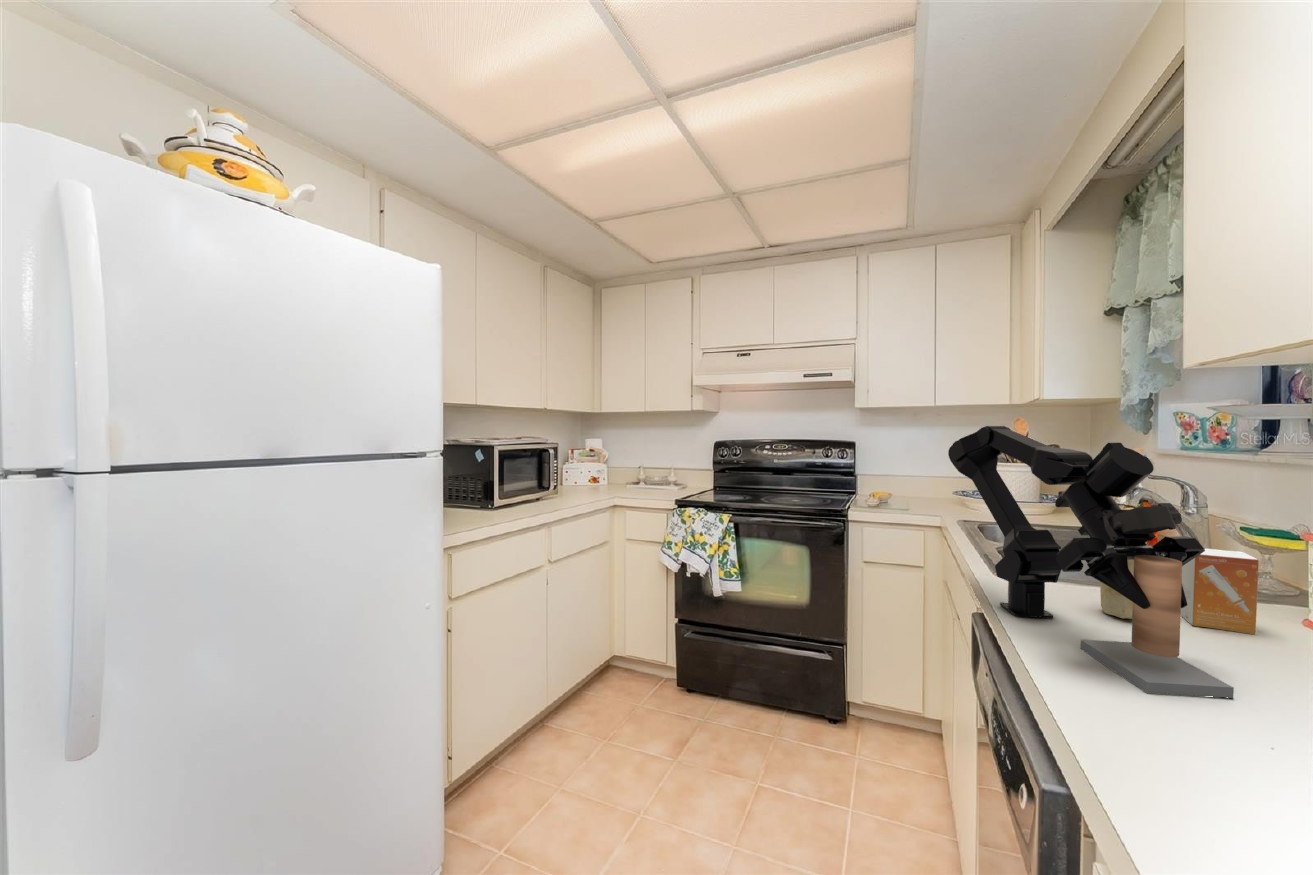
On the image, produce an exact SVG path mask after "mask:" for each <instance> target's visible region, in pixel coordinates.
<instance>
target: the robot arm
mask: <svg viewBox="0 0 1313 875" xmlns="http://www.w3.org/2000/svg"><path fill="white" fill-rule="evenodd" d="M1003 454H1004V455H1007V456H1009V457H1011V458H1012V459H1015V460H1017V461H1019V462H1021V463H1022V464H1025V465H1027V466H1028V467H1030V470H1031V474H1032V475H1034V476H1035V477H1036V478H1037V479H1039V480H1040V481H1041V482H1043V483H1044V484H1046V485H1048V486H1067V485H1069V486H1068V487H1067V488H1066V489H1065V490H1064V491H1063V490H1061V491H1058V496H1057V498H1056V500H1055V503H1054V505H1055V508H1069V509H1070V510H1071V512H1072V513H1073V515H1074V516H1075V517H1076V519H1077V520H1078V522H1079V523H1080V525H1081V526H1080V527H1079V528H1078V530H1077V531H1078V533H1079V534H1080V536H1089V537H1073V538H1072V539H1071V540H1070V541H1069V542H1067V544H1065V546H1063V547H1061V545H1059V544H1058V543H1057V541H1056V539H1055V538H1054V537H1053V534H1052V533H1051V532H1050V531H1049V530H1048V529H1037V528H1034V527H1033V526H1032V524H1030V522H1029V520H1028V518H1027V517H1026V515H1025V514H1024V512H1023V510H1022V508H1021V507H1020V506H1019V504H1018V502H1017V501H1016V499H1015V498H1014V496H1013V494H1012V492H1011V491H1010V489H1009V488H1008V486H1007V485H1006V483H1005V481H1004V480H1003V478H1002V477H1001V475H1000V473H999V472H998V470H997V469H998V462H999V457H1000V455H1003ZM948 458H949V460H950V462H951V463H952V465H953V466H954V467H955V469H956V470H957V471H958V472H959V473H960V474H962V475H963V476H965V477H966V478H968V479H970V480H972V482H973V485H974V486H975V487H976V490H977V491H978V493H979V494H980V497H981V498H982V500H983V502H984V504H985V505H986V507H987V509H988V510H989V511H990V514H991V516H992V517H993V519H994V521H995V522H996V524H997V526H998V528H999V529H1000V531H1001V533H1002V535H1003V537H1004V539H1003V546H1002V552H1003V554H1004V556H1003V557H1002V558H1001V559H1000V560H999V561H998V562H997V563H996V564H995V565H994V569H995V573H996V577H997V578H999V579H1001V580H1004V581H1006V582H1007V585H1008V586H1007V602H999V606H1001V607H1002V608H1004V610H1007V611H1008V612H1009V613H1010V614H1012V615H1013V616H1014V617H1019V618H1020V617H1022V618H1040V619H1046V618H1047V619H1054V615H1053V614H1052V613H1050V612H1049V611H1047V610H1045V609H1046V608H1045V606H1046V605H1045V604H1046V602H1045V600H1046V593H1045V592H1046V591H1045V588H1046V587H1045V586H1046V584H1045V583H1055V584H1056V583H1058V581H1059V578H1060V575H1061V573H1062V572H1064V573H1066V572H1067V573H1069V572H1070V573H1071V572H1073V573H1075V572H1081V571H1082V570H1083V568H1084V565H1085V564H1084V563H1083V561H1085V562H1086V566H1088V568H1087V569H1086V570H1085V571H1084V572H1083V573H1084V575H1085V576H1087V577H1091V578H1094V579H1095V580H1097V581H1099V583H1100V582H1102V583H1104V584H1105V585H1107V586H1109V587H1110V588H1112V589H1114V590H1115V591H1117V592H1118V593H1120V594H1121V595H1123V596H1124V597H1126V598H1127V599H1129V600H1130V601H1132V602H1134V603H1135V604H1137V605H1138V606H1140V607H1141V608H1143V609H1147V608H1149V607H1150V603H1149V601H1148V599H1147V597H1146V595H1145V594H1144V592H1143V590H1142V589H1141V587H1140V586H1139V584H1138V583H1137V581H1136V580H1135V578H1134V577H1133V575H1132V573H1131V572H1130V570H1129V569H1128V560H1134V556H1136V555H1151V556H1160V557H1166V558H1171V559H1175V560H1178V561H1181V562H1182V566H1183V565H1185V564H1186V563H1188V562H1189V561H1191V560H1192V559H1194V558H1195V557H1197V556H1198V555H1200V554H1201V553H1203V552H1204V551H1205V549H1206V548H1204V546H1202V544H1201V543H1200V542H1199V540H1198V539H1197V538H1196V537H1192V536H1183V535H1182V536H1179V535H1178V536H1164V537H1163V538H1162V539H1160V540H1159V541H1158V542H1156V543H1155V544H1153V545H1148V542H1151V541H1152V540H1153V539H1155V538H1156V537H1157V536H1156V534H1155V533H1158V532H1161V531H1162V532H1163V531H1166V530H1170V531H1171V530H1175V529H1177V526H1176V525H1179V524H1181V523H1182V521H1183V518H1182V514H1181V512H1180V511H1179V510H1178V509H1177V508H1176V507H1175V506H1174V505H1173V504H1172V503H1170V502H1159V503H1157V504H1153V505H1150V506H1139V507H1135V508H1134V507H1133V508H1134V509H1130V510H1122V508H1121V507H1120V505H1119V504H1118V503H1117V502H1116V500H1115V499H1114V498H1123V497H1126V496H1127V495H1128V494H1129V493H1130V492H1132V491H1133V490H1134V489H1135V488H1136V487H1138V485H1140V484H1141V483H1142V482H1143V481H1144V480H1145V479H1146V478H1147V477H1149V476H1150V475H1151V474H1152V473H1153V472H1154V464H1153V462H1152V461H1151V459H1149V457H1147V456H1145V455H1143V454H1141V453H1140V452H1138V451H1136V450H1134V449H1132V448H1129V447H1125V446H1124V445H1123V443H1122V442H1107V443H1106V444H1105V445H1104V446H1103V448H1102V449H1101V451H1100V452H1099V453H1098V454H1097V455H1096V456H1095V457H1094V458H1093V457H1092V456H1091V455H1090V454H1089V453H1087V452H1086V451H1081V450H1076V449H1070V448H1064V447H1063V448H1062V447H1055V446H1050V445H1047V444H1044V443H1042V442H1040V441H1037V440H1035V439H1033V438H1030V437H1028V436H1025V435H1023V434H1020V433H1019V432H1016V431H1014V430H1012V429H1011V428H1010V427H1007V426H1006V425H986V426H983V427H981V428H980V429H978V430H977V431H975V432H973V433H971V434H968V435H965V436H963V437H961V438H959V439H958V440H955V441H954V442H953V443H952V445H951V446H949V449H948ZM1145 542H1147V544H1146V543H1145ZM1146 545H1147V546H1146ZM1186 606H1187V601H1186V597H1185V593H1184V590H1183V586H1182V587H1181V608H1184V607H1186Z"/></svg>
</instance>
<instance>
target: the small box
mask: <svg viewBox="0 0 1313 875" xmlns="http://www.w3.org/2000/svg"><path fill="white" fill-rule="evenodd" d="M1204 549H1205V551H1204V552H1203V553H1201V554H1200V555H1198V556H1197V557H1195V558H1194V559H1192V560H1191V561H1189V562H1188V563H1186V564H1185V565H1183V566H1182V586H1183V590H1184V593H1185V597H1186V601H1187V606H1186V607H1184V608H1181V617H1182V618H1183V619H1184V620H1185V621H1186V622H1188V623H1189V624H1190V625H1192V626H1194V627H1203V628H1210V629H1216V630H1223V631H1229V632H1237V633H1243V634H1249V635H1256V632H1257V631H1256V630H1257V629H1256V628H1257V611H1258V610H1257V609H1258V588H1259V585H1258V583H1259V582H1258V581H1259V566H1260V565H1259V562H1260V561H1259V559H1257V558H1256V557H1254V556H1252V555H1250V554H1248V553H1246V552H1244V551H1237V550H1234V551H1233V550H1224V549H1214V548H1204Z"/></svg>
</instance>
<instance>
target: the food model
mask: <svg viewBox="0 0 1313 875" xmlns="http://www.w3.org/2000/svg"><path fill="white" fill-rule="evenodd" d="M1121 509H1122V508H1121ZM1130 509H1134V507H1126V508H1123V509H1122V510H1130ZM1145 543H1146V544H1147V545H1146V546H1148V541H1147V542H1145ZM1128 569H1129V570H1130V572H1131V573H1132V575H1133V577H1134V560H1128ZM1099 583H1100V584H1099V585H1100V588H1099V589H1100V607H1101V609H1102V612H1104V613H1105V614H1107V615H1110V616H1115V617H1117V618H1119V619H1122V620H1123V619H1129V620H1132V611H1133V602H1132V601H1130V600H1129V599H1127V598H1126V597H1124V596H1123V595H1121V594H1120V593H1118V592H1117V591H1115V590H1114V589H1112V588H1110V587H1109V586H1107V585H1105V584H1104V583H1102V582H1100V581H1099Z"/></svg>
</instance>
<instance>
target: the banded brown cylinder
mask: <svg viewBox="0 0 1313 875" xmlns="http://www.w3.org/2000/svg"><path fill="white" fill-rule="evenodd" d="M1134 578H1135V580H1136V581H1137V583H1138V584H1139V586H1140V587H1141V589H1142V590H1143V592H1144V594H1145V595H1146V597H1147V599H1148V601H1149V603H1150V607H1149V608H1147V609H1143V608H1141V607H1140V606H1138V605H1137V604H1135V603H1134V602H1133V611H1132V619H1131V642H1132V646H1133V647H1134V648H1136V649H1138V650H1140V651H1142V652H1145V653H1149V654H1152V655H1157V656H1163V657H1179V656H1180V643H1181V617H1182V616H1181V587H1182V562H1181V561H1178V560H1175V559H1171V558H1166V557H1160V556H1151V555H1136V556H1134Z"/></svg>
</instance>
